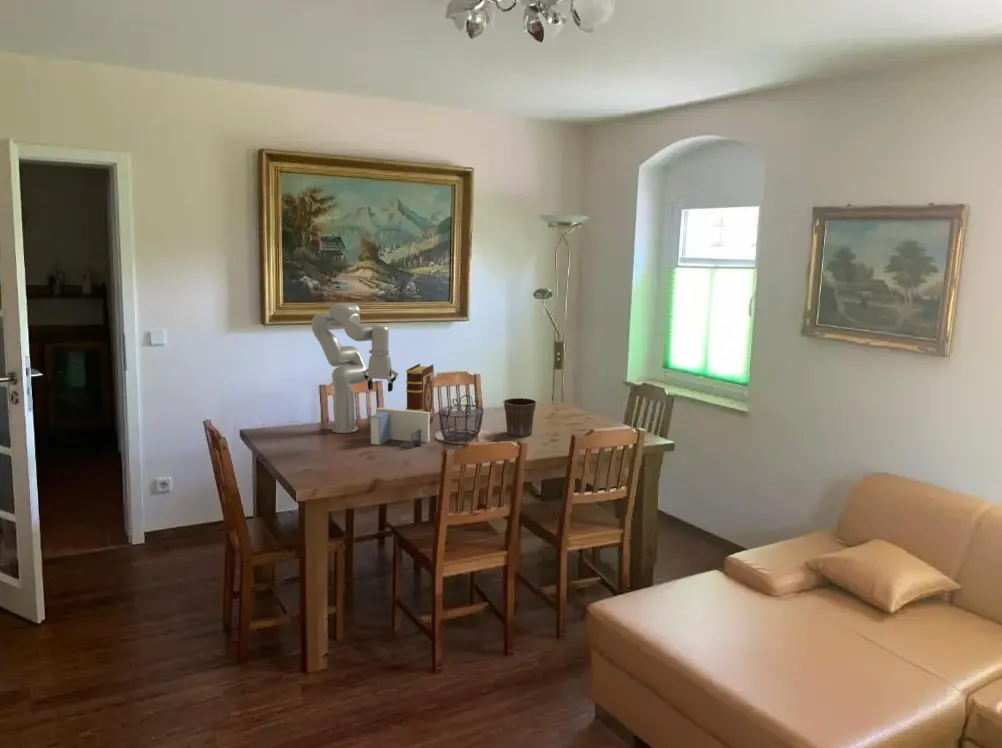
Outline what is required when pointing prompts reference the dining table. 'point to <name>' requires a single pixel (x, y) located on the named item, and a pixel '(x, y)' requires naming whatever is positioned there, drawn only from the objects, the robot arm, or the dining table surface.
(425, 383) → the decorative book
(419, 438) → the bookend
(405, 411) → the shelf wall
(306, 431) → the dining table surface
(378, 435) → the boxed book
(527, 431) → the plant pot
